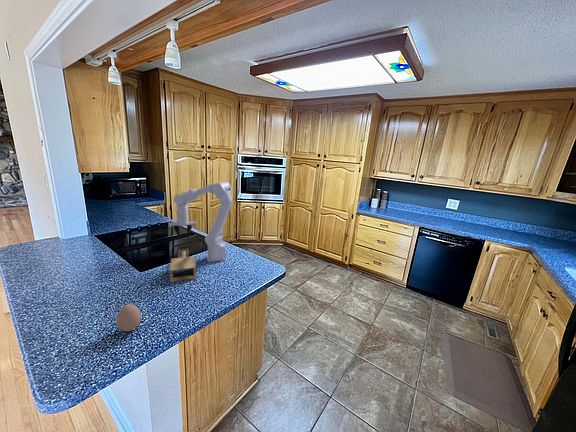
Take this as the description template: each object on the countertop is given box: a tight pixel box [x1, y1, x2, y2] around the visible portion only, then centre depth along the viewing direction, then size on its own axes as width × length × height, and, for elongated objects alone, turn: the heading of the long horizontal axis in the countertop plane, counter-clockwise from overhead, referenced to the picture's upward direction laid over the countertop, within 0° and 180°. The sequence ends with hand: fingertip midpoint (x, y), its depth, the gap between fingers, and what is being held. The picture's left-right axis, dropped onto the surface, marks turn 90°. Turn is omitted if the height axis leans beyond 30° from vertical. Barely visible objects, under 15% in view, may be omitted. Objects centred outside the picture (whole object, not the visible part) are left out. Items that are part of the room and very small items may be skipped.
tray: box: [177, 248, 190, 258], centre depth 125 cm, size 5×13×4 cm, turn 23°
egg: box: [116, 303, 142, 332], centre depth 76 cm, size 7×7×9 cm
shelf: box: [169, 256, 197, 283], centre depth 113 cm, size 11×12×6 cm
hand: (183, 237), depth 134 cm, fingers open, 4 cm apart
